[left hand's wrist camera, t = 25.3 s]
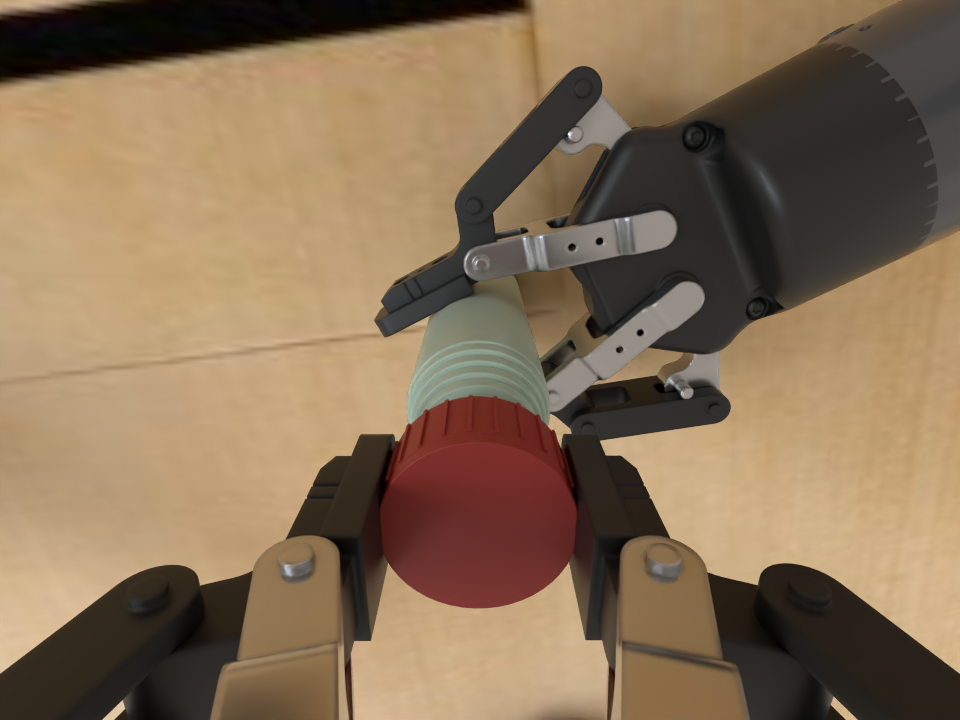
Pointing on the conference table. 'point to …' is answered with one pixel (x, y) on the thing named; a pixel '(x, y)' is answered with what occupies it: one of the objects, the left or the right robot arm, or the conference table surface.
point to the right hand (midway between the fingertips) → (416, 373)
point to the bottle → (480, 353)
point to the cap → (478, 504)
